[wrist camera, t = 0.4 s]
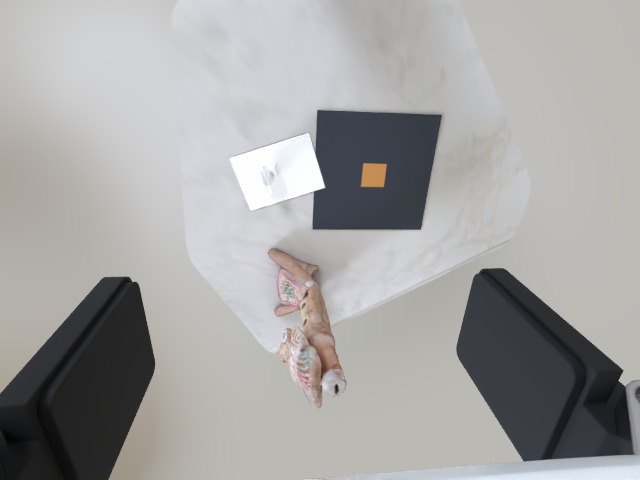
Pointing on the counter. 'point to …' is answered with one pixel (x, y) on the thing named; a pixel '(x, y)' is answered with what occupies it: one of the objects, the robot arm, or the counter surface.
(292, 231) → the counter surface
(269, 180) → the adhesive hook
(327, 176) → the centre mat
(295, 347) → the figurine
